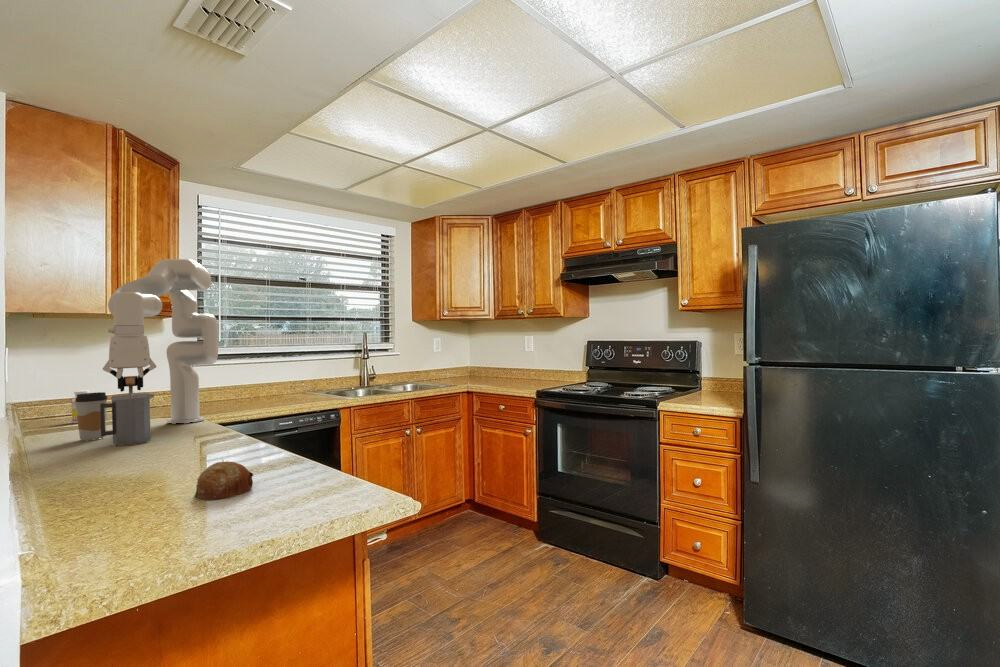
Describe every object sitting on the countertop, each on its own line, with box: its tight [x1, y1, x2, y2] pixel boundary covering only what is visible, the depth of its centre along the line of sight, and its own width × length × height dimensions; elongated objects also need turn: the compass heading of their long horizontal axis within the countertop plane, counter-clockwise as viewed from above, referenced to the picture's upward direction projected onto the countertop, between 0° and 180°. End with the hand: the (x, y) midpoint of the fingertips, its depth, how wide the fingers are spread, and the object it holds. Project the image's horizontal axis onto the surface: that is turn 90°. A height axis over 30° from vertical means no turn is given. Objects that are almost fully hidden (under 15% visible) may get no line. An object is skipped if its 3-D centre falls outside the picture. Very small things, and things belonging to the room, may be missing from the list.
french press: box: [100, 391, 155, 446], centre depth 157 cm, size 9×13×15 cm
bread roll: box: [193, 461, 254, 501], centre depth 101 cm, size 10×10×8 cm
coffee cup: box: [74, 392, 108, 441], centre depth 167 cm, size 8×8×15 cm
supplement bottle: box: [71, 389, 90, 424], centre depth 208 cm, size 7×7×13 cm
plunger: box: [123, 375, 138, 394], centre depth 158 cm, size 6×6×19 cm
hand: (130, 390), depth 158 cm, fingers closed on plunger, 3 cm apart
